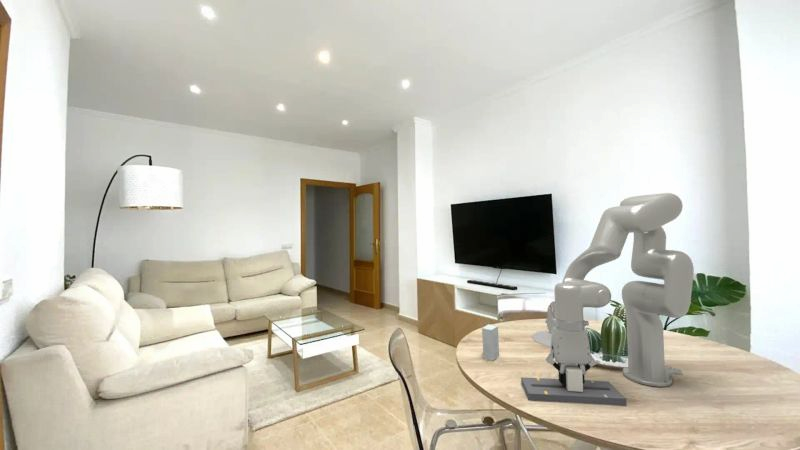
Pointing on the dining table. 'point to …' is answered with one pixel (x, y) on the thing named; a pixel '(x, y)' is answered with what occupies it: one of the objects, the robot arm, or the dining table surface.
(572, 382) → the fader tab
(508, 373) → the dining table surface
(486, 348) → the skincare box
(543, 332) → the ornament
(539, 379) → the slider panel
